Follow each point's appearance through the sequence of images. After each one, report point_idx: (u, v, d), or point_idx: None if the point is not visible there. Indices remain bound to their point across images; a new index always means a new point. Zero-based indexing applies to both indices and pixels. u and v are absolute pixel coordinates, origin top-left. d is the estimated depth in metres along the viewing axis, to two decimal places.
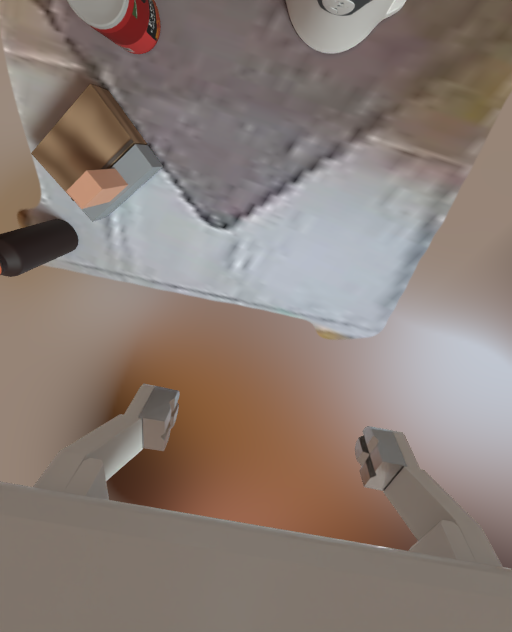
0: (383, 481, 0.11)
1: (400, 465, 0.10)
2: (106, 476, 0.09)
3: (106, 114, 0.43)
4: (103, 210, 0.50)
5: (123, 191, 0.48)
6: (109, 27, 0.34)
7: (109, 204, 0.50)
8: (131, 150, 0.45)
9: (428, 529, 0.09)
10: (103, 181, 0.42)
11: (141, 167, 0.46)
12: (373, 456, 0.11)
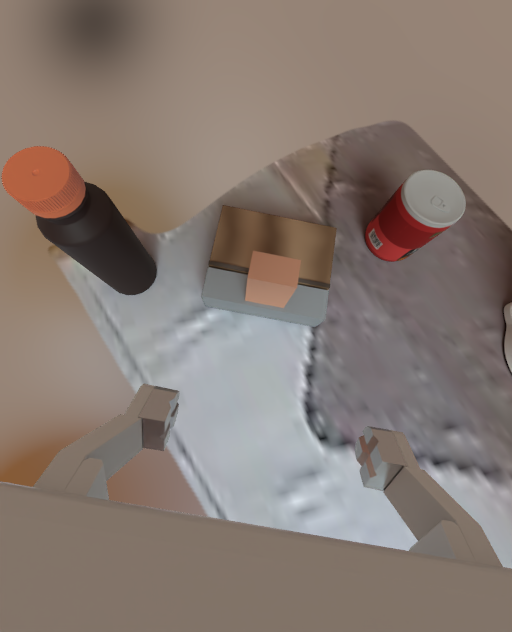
0: (383, 481, 0.11)
1: (400, 465, 0.10)
2: (106, 476, 0.09)
3: (326, 252, 0.37)
4: (227, 299, 0.35)
5: (271, 307, 0.35)
6: (420, 220, 0.33)
7: (241, 302, 0.35)
8: (319, 290, 0.36)
9: (428, 529, 0.09)
10: None
11: (314, 309, 0.35)
12: (373, 456, 0.11)
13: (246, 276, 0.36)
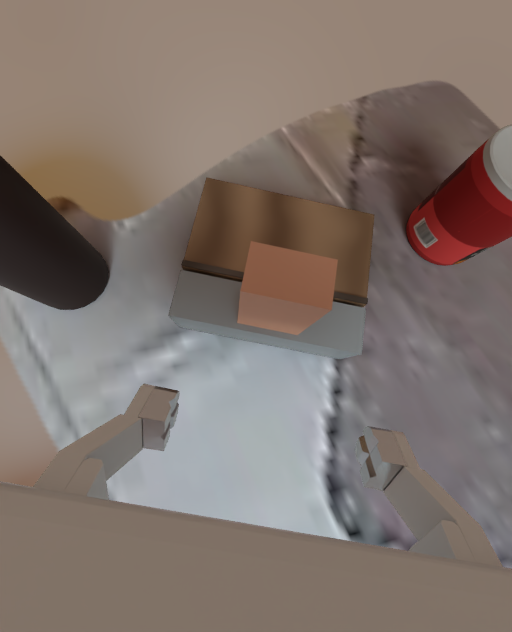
0: (383, 481, 0.11)
1: (400, 465, 0.10)
2: (106, 476, 0.09)
3: (361, 250, 0.25)
4: (210, 321, 0.22)
5: (278, 334, 0.22)
6: None
7: (232, 325, 0.22)
8: (352, 308, 0.24)
9: (428, 529, 0.09)
10: None
11: (344, 337, 0.23)
12: (373, 456, 0.11)
13: (240, 285, 0.23)
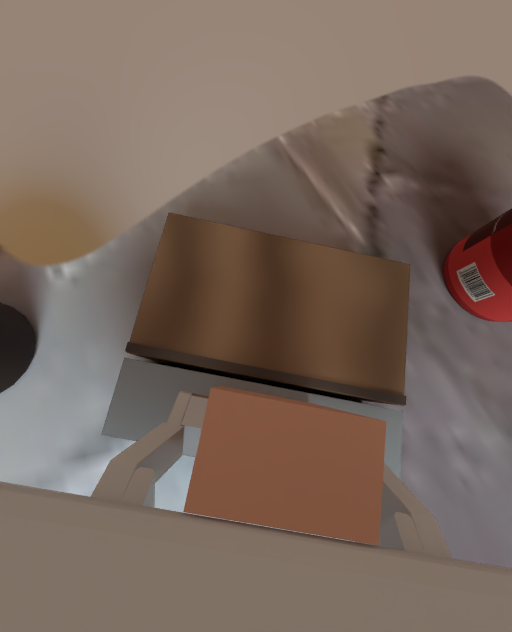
0: None
1: None
2: None
3: (393, 318, 0.17)
4: None
5: None
6: None
7: None
8: (382, 411, 0.16)
9: (386, 522, 0.09)
10: None
11: None
12: None
13: (214, 380, 0.15)
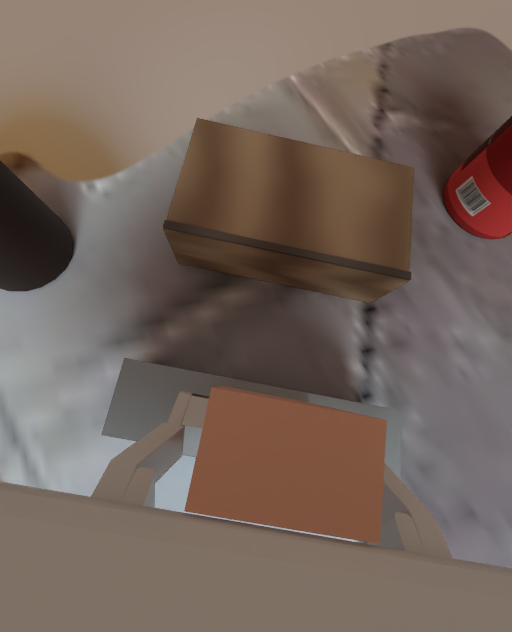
0: None
1: None
2: None
3: (399, 211, 0.19)
4: None
5: None
6: None
7: None
8: (382, 411, 0.16)
9: (386, 522, 0.09)
10: None
11: None
12: None
13: (214, 380, 0.15)
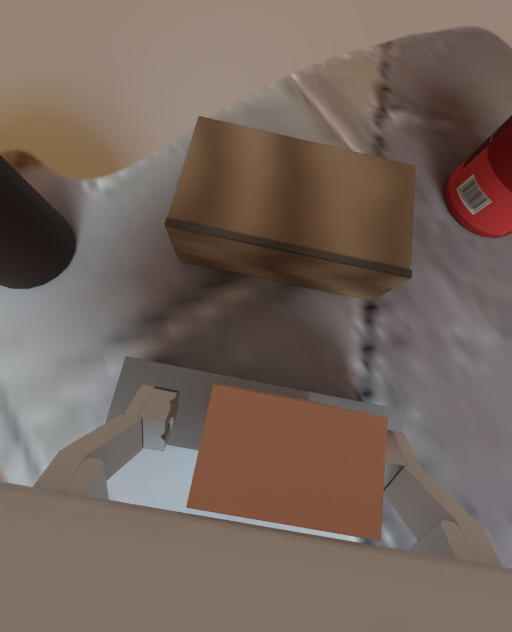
0: None
1: (400, 465, 0.10)
2: (106, 476, 0.09)
3: (400, 209, 0.19)
4: None
5: None
6: None
7: None
8: (383, 410, 0.16)
9: (428, 529, 0.09)
10: None
11: None
12: None
13: (215, 378, 0.15)
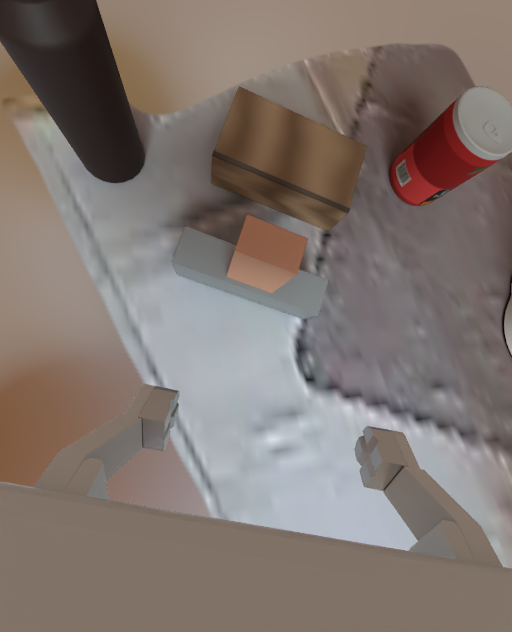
0: (383, 481, 0.11)
1: (400, 465, 0.10)
2: (106, 476, 0.09)
3: (351, 171, 0.32)
4: (204, 272, 0.28)
5: (257, 290, 0.28)
6: (468, 146, 0.28)
7: (221, 278, 0.28)
8: (317, 278, 0.30)
9: (428, 529, 0.09)
10: None
11: (308, 300, 0.29)
12: (373, 456, 0.11)
13: (232, 246, 0.28)
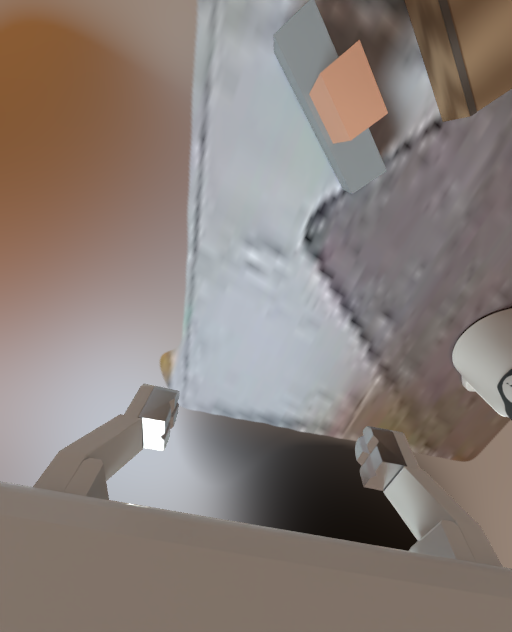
0: (383, 481, 0.11)
1: (400, 465, 0.10)
2: (106, 476, 0.09)
3: None
4: (294, 73, 0.26)
5: (323, 130, 0.28)
6: None
7: (304, 92, 0.27)
8: (380, 162, 0.29)
9: (428, 529, 0.09)
10: None
11: (355, 175, 0.30)
12: (373, 456, 0.11)
13: None
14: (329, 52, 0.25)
